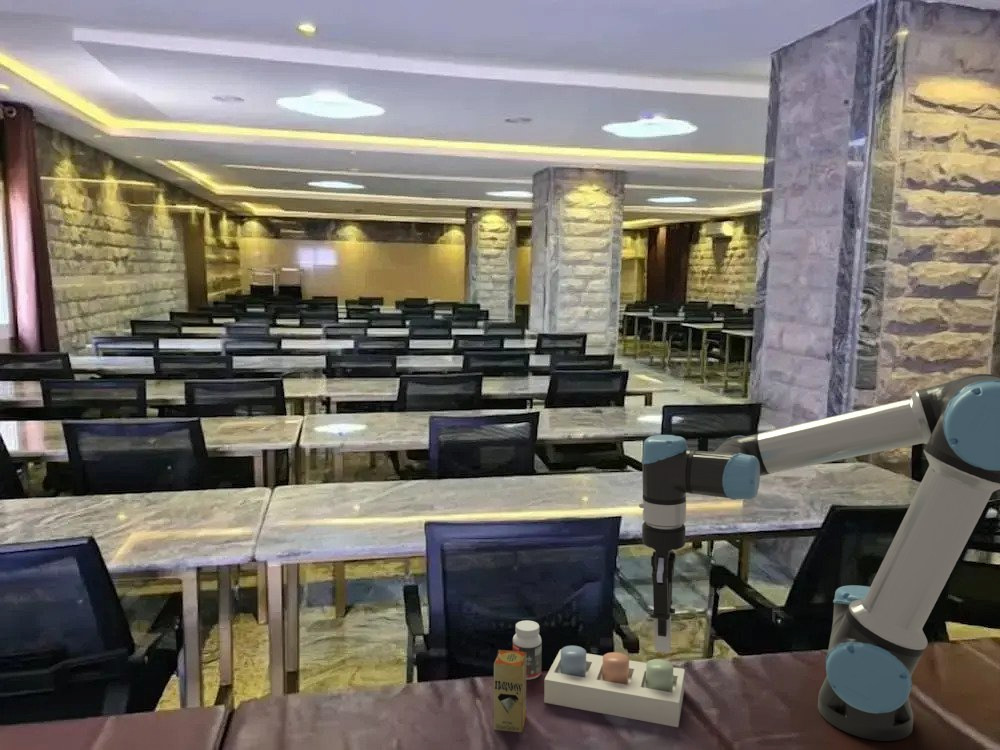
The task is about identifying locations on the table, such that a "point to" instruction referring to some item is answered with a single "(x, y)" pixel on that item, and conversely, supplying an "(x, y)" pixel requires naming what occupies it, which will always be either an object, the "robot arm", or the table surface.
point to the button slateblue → (573, 661)
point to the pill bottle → (529, 646)
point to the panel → (615, 692)
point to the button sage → (659, 675)
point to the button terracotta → (615, 668)
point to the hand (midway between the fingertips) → (662, 649)
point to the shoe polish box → (510, 691)
